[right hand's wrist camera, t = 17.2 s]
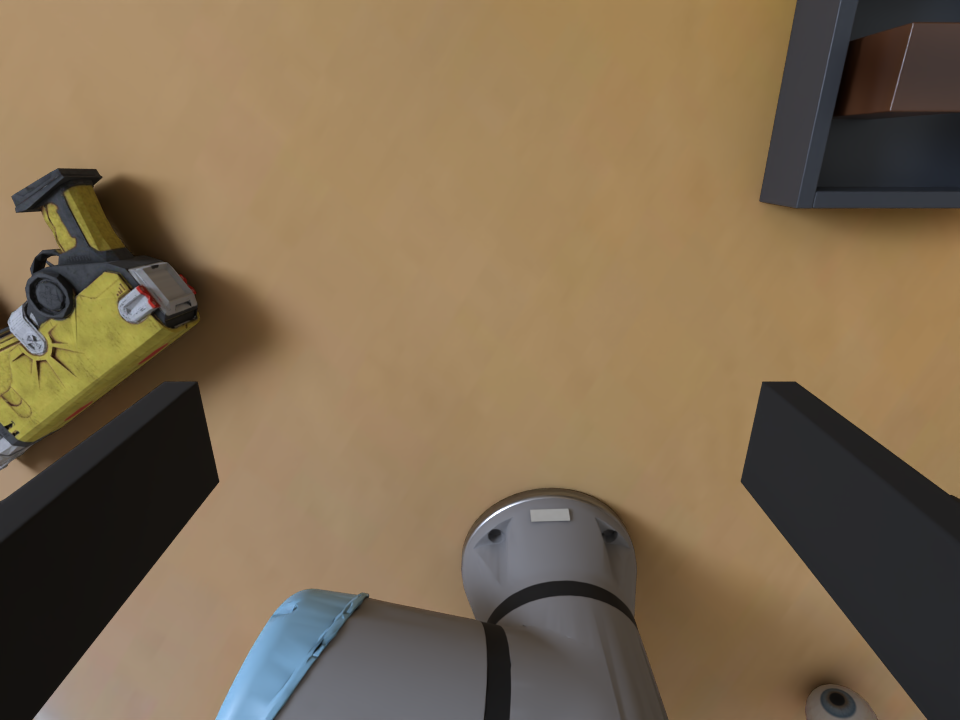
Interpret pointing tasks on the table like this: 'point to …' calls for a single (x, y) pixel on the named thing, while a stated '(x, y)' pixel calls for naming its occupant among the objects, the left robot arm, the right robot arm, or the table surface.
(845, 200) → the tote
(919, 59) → the walnut block
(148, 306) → the toy gun
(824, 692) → the eyeball
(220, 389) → the table surface
